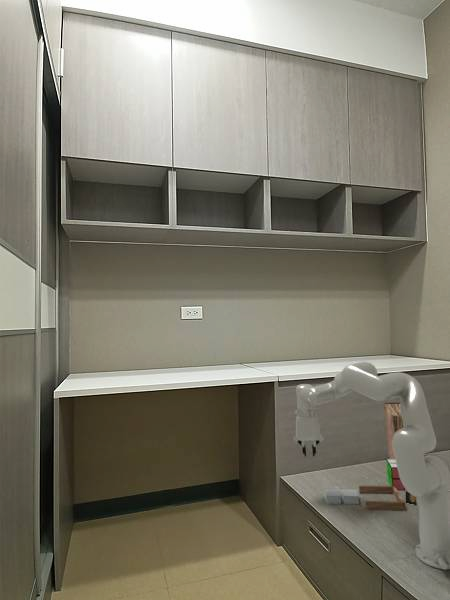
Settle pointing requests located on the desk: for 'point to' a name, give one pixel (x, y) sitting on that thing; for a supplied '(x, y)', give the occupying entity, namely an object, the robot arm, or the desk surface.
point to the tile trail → (332, 496)
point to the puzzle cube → (394, 474)
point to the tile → (350, 496)
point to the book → (392, 424)
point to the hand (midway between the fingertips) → (309, 454)
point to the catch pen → (383, 504)
